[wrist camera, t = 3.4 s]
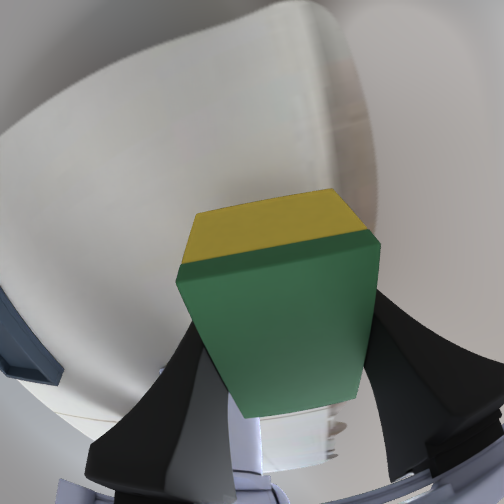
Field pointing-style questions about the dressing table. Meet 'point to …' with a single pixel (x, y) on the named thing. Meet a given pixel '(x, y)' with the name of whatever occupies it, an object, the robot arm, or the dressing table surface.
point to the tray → (24, 350)
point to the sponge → (283, 299)
